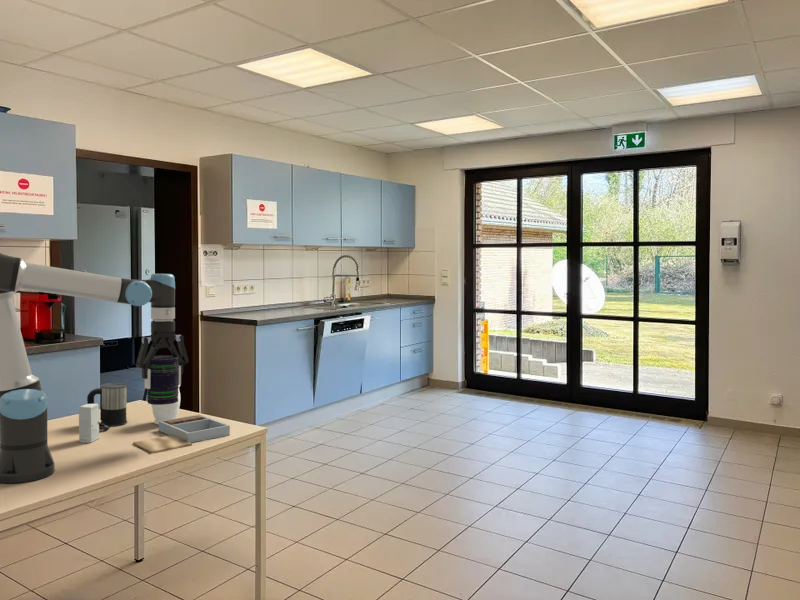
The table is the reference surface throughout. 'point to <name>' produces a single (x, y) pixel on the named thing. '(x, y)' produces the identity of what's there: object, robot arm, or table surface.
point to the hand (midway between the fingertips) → (162, 386)
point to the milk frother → (111, 404)
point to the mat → (162, 443)
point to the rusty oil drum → (163, 380)
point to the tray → (185, 429)
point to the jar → (166, 410)
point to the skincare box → (88, 423)
